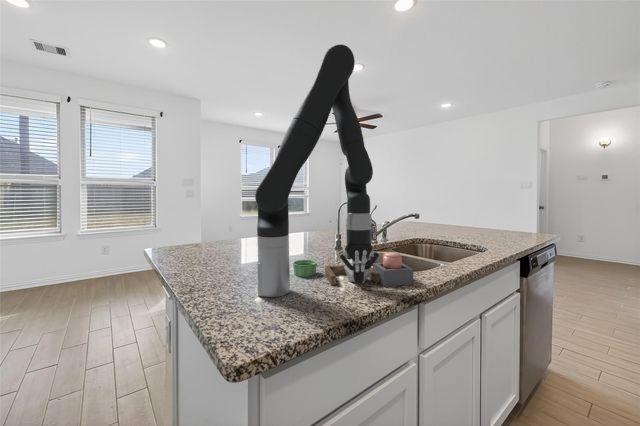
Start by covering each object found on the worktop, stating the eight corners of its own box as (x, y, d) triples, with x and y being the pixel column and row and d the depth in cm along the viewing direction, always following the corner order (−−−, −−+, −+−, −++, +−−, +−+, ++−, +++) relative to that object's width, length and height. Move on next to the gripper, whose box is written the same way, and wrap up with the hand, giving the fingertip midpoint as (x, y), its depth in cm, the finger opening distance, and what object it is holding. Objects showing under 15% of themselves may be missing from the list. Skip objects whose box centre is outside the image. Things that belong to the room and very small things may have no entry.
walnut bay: (331, 285, 89) (331, 276, 89) (324, 273, 103) (324, 265, 103) (379, 282, 92) (379, 273, 92) (366, 271, 105) (366, 263, 105)
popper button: (387, 273, 90) (387, 256, 90) (380, 268, 96) (380, 252, 96) (404, 272, 91) (404, 255, 91) (396, 267, 97) (397, 251, 96)
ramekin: (299, 279, 97) (299, 266, 97) (289, 273, 105) (288, 261, 105) (321, 275, 102) (321, 263, 101) (310, 269, 109) (309, 258, 109)
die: (353, 288, 88) (372, 264, 87) (335, 271, 93) (352, 248, 92) (363, 290, 95) (380, 268, 94) (345, 274, 100) (361, 253, 99)
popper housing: (383, 286, 88) (383, 270, 88) (372, 277, 98) (372, 263, 97) (413, 284, 89) (413, 269, 89) (399, 275, 99) (399, 261, 99)
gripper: (340, 229, 81) (341, 288, 82) (383, 228, 83) (383, 285, 84) (334, 227, 88) (335, 280, 90) (374, 225, 91) (374, 278, 92)
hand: (358, 282), depth 87 cm, fingers closed
